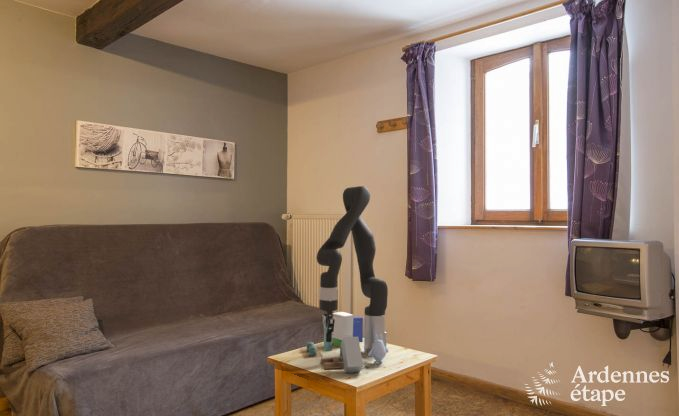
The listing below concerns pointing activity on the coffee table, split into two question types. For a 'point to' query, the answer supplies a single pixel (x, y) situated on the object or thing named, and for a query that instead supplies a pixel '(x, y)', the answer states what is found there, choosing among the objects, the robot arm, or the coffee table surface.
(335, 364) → the board
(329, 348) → the pin
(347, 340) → the white rectangular block
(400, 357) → the coffee table surface
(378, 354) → the toy figure
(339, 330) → the skincare box
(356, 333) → the walkman
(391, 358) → the coffee table surface
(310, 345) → the board
